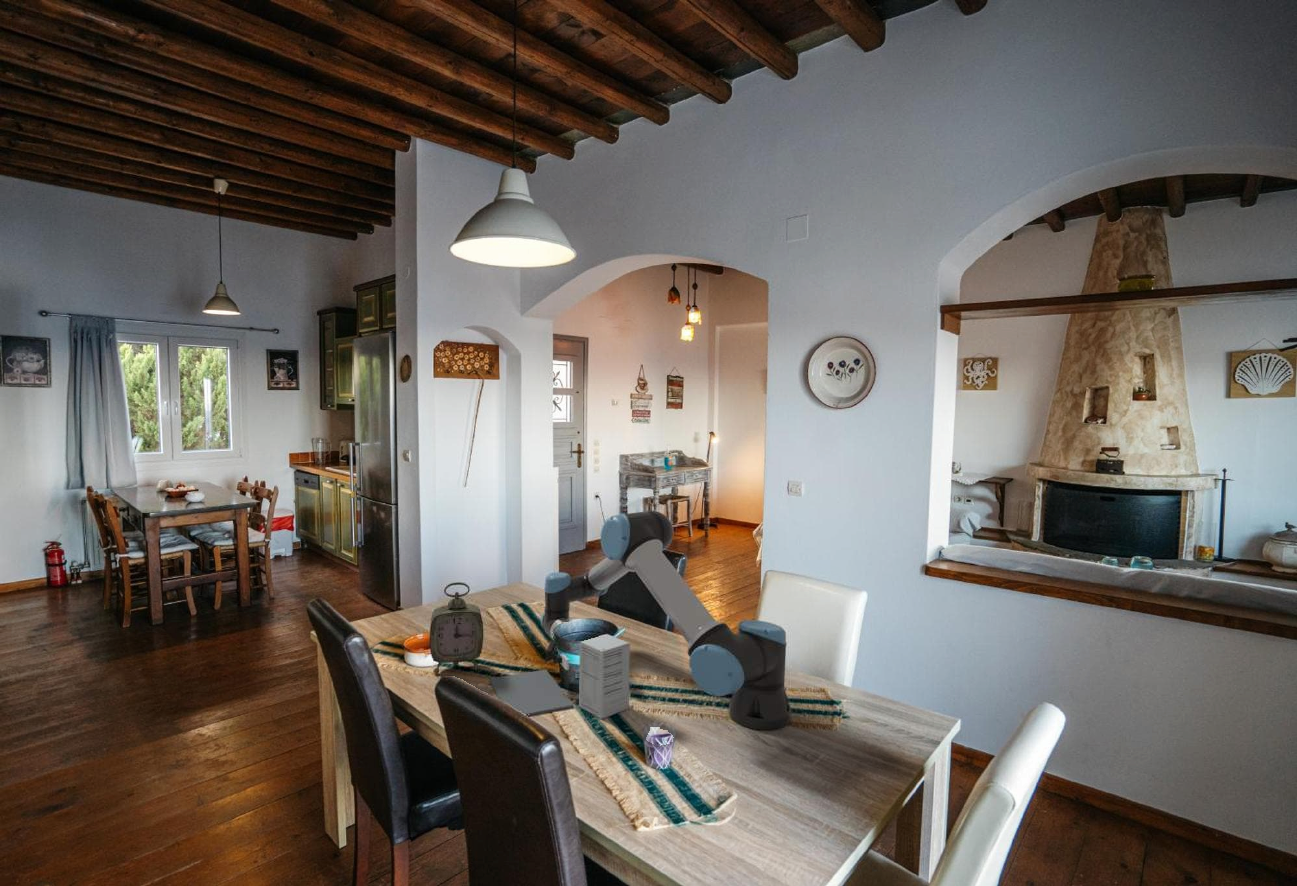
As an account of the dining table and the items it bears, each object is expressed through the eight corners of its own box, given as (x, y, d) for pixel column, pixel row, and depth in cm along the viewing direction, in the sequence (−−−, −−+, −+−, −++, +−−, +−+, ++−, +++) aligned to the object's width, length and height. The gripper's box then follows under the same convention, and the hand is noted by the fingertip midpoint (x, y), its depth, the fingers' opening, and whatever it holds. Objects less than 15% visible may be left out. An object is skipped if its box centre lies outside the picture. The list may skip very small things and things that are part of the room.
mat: (573, 707, 160) (573, 704, 160) (510, 718, 153) (510, 716, 153) (545, 671, 181) (545, 669, 181) (489, 680, 174) (489, 678, 174)
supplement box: (630, 708, 160) (631, 642, 159) (601, 720, 153) (603, 651, 153) (605, 695, 167) (607, 632, 166) (577, 706, 160) (578, 640, 160)
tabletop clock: (429, 677, 175) (429, 587, 174) (429, 664, 184) (430, 579, 183) (483, 671, 180) (484, 584, 179) (481, 659, 189) (482, 576, 187)
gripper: (605, 641, 192) (634, 667, 173) (524, 653, 181) (545, 682, 162) (606, 617, 191) (635, 640, 172) (525, 627, 181) (546, 653, 162)
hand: (592, 660), depth 167 cm, fingers open, 13 cm apart
